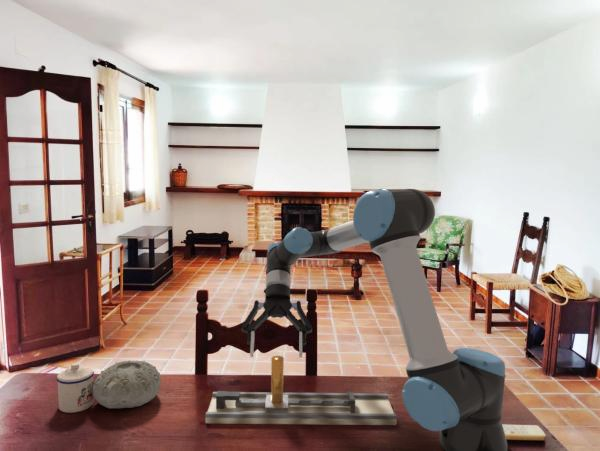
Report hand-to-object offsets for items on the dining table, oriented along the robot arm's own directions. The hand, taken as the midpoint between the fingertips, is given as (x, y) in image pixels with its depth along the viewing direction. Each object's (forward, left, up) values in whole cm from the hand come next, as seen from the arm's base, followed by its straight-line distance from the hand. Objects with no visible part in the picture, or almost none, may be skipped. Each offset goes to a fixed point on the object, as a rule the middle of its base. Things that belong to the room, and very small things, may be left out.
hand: (276, 355), depth 130 cm
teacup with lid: (+36, +40, -14) cm, 55 cm away
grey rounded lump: (+28, +30, -14) cm, 43 cm away
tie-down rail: (-9, -1, -13) cm, 16 cm away
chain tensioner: (-8, 0, -12) cm, 14 cm away
